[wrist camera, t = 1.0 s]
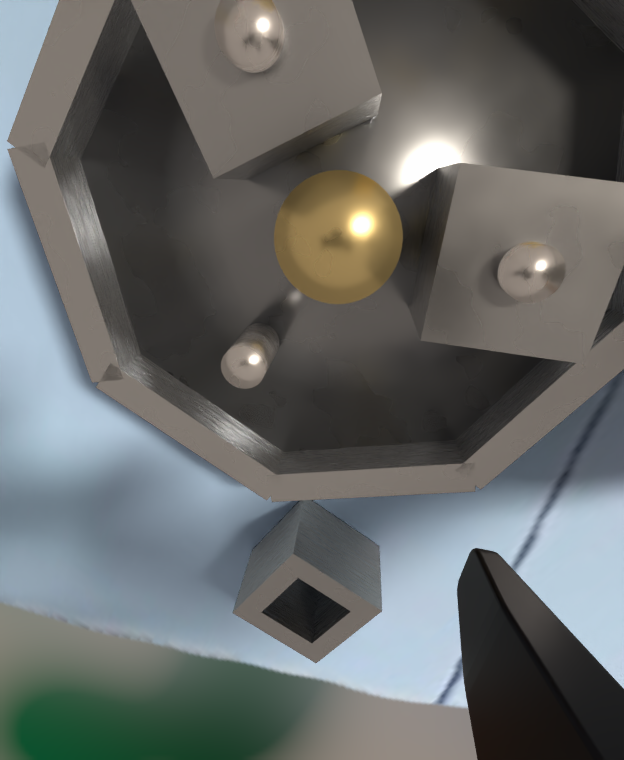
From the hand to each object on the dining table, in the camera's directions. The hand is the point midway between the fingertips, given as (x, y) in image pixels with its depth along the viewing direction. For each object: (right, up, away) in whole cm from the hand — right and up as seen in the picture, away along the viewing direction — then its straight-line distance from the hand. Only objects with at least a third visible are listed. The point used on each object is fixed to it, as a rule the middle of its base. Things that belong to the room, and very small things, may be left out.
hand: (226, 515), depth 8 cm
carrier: (+3, +9, +9) cm, 13 cm away
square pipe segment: (+2, -7, +16) cm, 18 cm away
